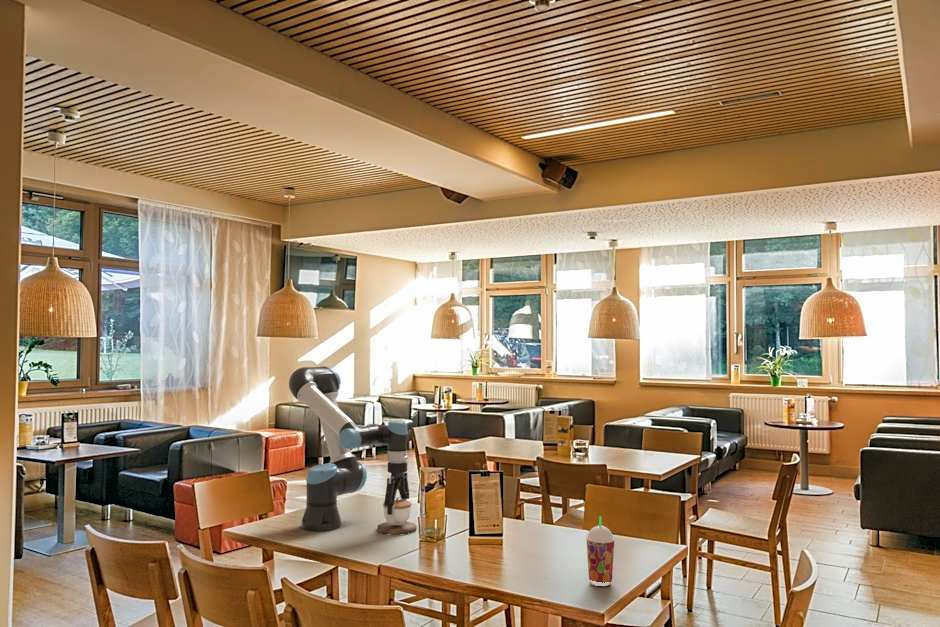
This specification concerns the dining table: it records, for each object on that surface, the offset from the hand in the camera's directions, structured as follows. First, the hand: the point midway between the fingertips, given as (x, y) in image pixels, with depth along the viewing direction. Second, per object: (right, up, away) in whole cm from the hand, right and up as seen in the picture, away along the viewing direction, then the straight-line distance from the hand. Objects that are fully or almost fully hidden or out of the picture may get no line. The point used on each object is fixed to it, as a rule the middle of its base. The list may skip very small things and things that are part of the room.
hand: (397, 519), depth 276 cm
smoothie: (+67, -2, -61) cm, 91 cm away
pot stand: (0, -4, 0) cm, 4 cm away
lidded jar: (0, -2, 0) cm, 2 cm away
